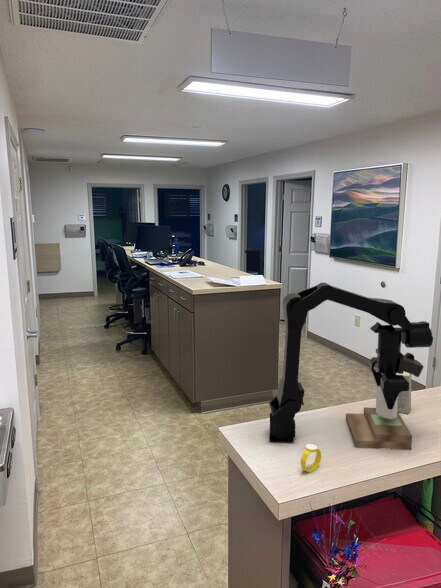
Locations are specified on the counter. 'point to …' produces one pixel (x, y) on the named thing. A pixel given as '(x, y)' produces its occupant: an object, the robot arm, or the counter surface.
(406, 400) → the skincare box
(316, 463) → the watch
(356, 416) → the step riser
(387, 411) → the eye dropper bottle
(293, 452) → the counter surface
